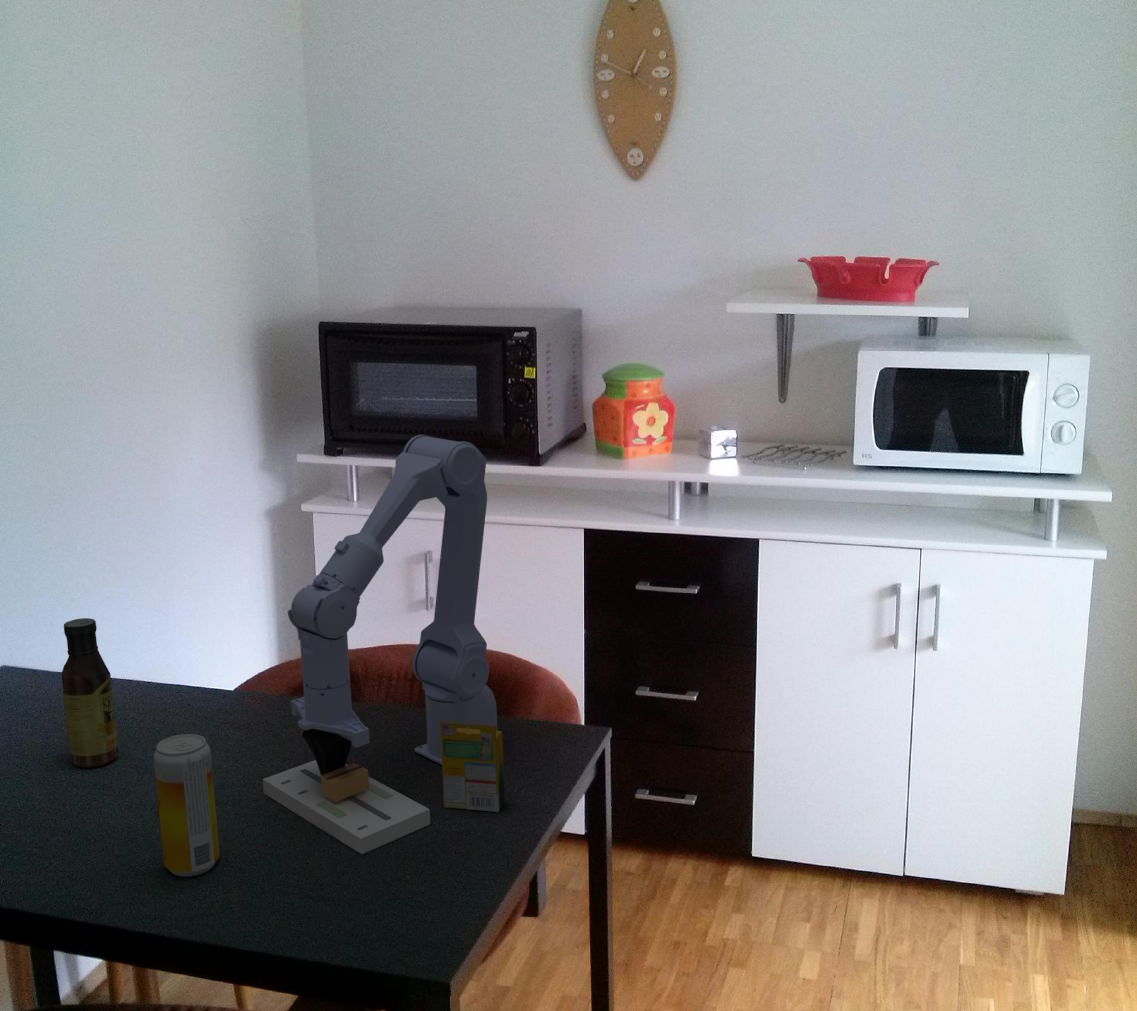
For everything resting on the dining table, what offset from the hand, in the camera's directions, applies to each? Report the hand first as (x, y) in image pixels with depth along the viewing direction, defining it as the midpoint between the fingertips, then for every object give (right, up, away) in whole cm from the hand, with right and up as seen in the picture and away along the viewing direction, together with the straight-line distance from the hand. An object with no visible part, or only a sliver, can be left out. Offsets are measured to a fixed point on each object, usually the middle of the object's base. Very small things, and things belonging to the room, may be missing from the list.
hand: (333, 782), depth 150 cm
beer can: (-13, -6, -14) cm, 20 cm away
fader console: (+2, -3, -1) cm, 4 cm away
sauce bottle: (-36, 0, +14) cm, 38 cm away
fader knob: (+2, -1, -2) cm, 3 cm away
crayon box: (+18, -3, 0) cm, 18 cm away
